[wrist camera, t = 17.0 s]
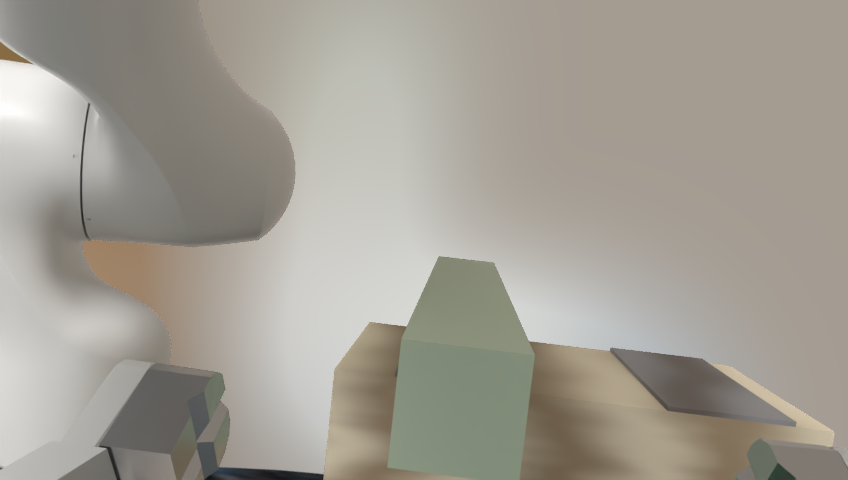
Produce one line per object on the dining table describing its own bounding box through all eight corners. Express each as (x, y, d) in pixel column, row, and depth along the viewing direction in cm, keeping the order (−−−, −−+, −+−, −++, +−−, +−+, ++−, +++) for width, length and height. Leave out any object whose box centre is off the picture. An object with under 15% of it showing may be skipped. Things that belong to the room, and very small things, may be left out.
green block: (387, 467, 17) (401, 338, 17) (432, 310, 41) (438, 256, 41) (518, 485, 17) (535, 355, 17) (487, 317, 41) (493, 262, 40)
